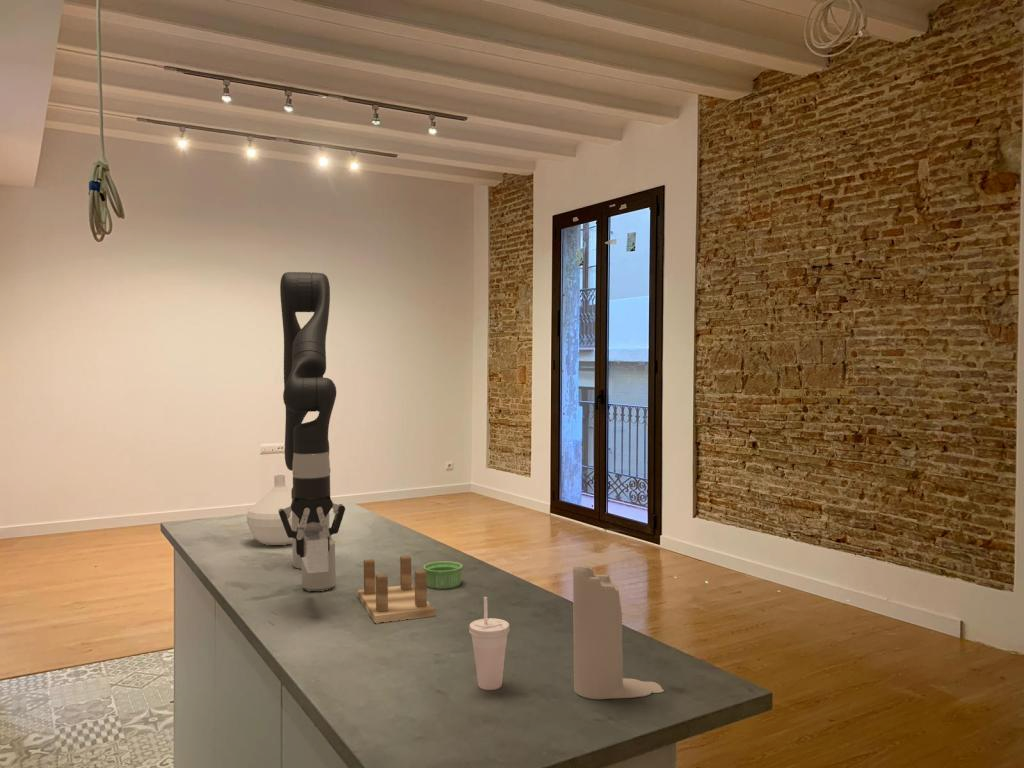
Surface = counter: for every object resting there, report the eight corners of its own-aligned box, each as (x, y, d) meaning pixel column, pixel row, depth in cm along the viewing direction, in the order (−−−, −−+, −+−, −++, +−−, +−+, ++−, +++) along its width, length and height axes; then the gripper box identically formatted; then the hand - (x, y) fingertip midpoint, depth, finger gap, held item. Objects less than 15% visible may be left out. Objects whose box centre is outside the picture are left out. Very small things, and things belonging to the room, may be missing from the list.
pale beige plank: (298, 551, 174) (298, 522, 173) (317, 549, 175) (317, 520, 175) (307, 573, 157) (307, 540, 157) (328, 571, 158) (327, 538, 158)
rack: (357, 597, 174) (357, 558, 173) (411, 590, 178) (411, 553, 178) (375, 623, 156) (374, 580, 156) (434, 616, 160) (433, 574, 160)
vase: (327, 539, 231) (326, 473, 230) (277, 552, 215) (276, 482, 215) (283, 532, 241) (282, 469, 240) (233, 544, 225) (231, 477, 225)
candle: (668, 696, 121) (667, 565, 120) (578, 700, 120) (577, 568, 119) (656, 678, 128) (655, 554, 127) (570, 681, 127) (569, 557, 126)
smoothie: (469, 677, 129) (468, 592, 128) (508, 676, 129) (507, 590, 129) (470, 694, 122) (469, 604, 122) (512, 692, 123) (511, 602, 123)
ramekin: (470, 584, 183) (470, 565, 183) (441, 592, 177) (441, 573, 177) (444, 577, 190) (444, 559, 189) (415, 585, 183) (415, 566, 183)
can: (327, 593, 177) (326, 540, 176) (296, 592, 178) (295, 538, 178) (341, 584, 184) (340, 532, 184) (310, 582, 185) (310, 531, 185)
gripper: (343, 469, 171) (344, 548, 172) (274, 473, 166) (275, 554, 167) (349, 474, 164) (350, 556, 165) (277, 478, 159) (278, 563, 160)
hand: (312, 555), depth 166 cm, fingers closed on pale beige plank, 4 cm apart
